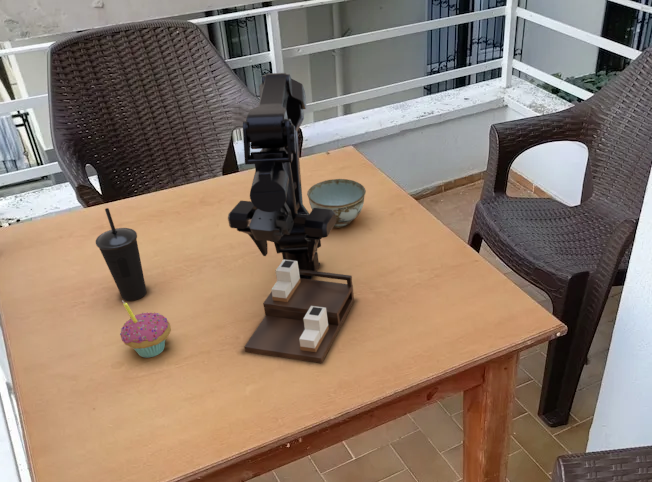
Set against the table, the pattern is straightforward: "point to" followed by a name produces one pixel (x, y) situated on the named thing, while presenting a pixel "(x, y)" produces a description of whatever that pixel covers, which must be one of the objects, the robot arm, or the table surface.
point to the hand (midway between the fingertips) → (288, 257)
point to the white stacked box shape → (314, 328)
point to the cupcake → (145, 332)
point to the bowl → (338, 199)
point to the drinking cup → (123, 260)
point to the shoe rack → (287, 317)
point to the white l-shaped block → (286, 280)
